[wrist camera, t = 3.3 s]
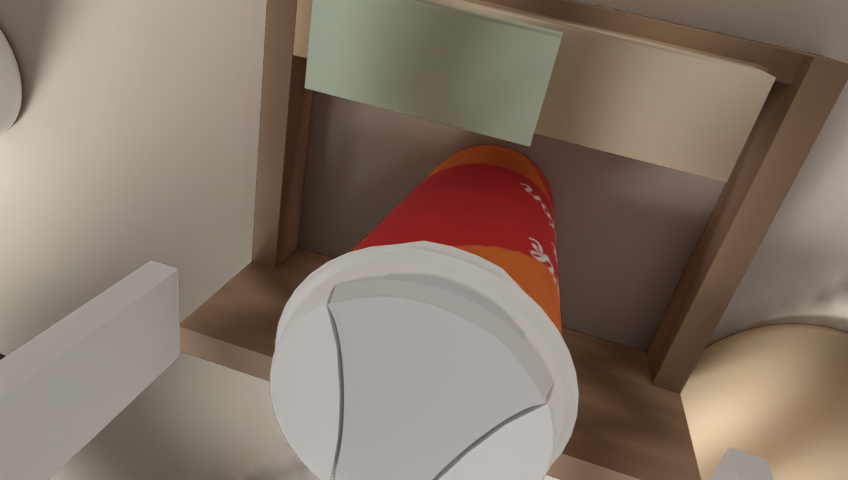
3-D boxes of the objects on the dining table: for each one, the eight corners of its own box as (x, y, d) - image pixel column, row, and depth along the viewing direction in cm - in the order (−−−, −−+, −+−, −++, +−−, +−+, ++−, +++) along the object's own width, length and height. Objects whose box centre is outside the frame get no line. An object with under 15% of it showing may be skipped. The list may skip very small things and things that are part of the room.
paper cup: (533, 305, 27) (494, 586, 14) (385, 241, 27) (226, 459, 15) (612, 158, 23) (652, 367, 11) (440, 87, 24) (288, 207, 11)
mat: (634, 456, 29) (635, 465, 28) (718, 295, 24) (721, 302, 24) (839, 523, 28) (844, 534, 27) (968, 366, 23) (977, 375, 22)
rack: (274, 260, 29) (177, 350, 22) (299, -61, 22) (172, -78, 15) (662, 379, 27) (692, 524, 20) (825, 56, 20) (960, 100, 13)
